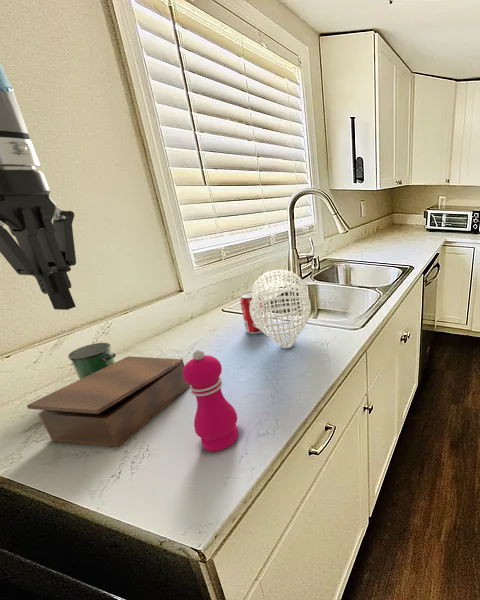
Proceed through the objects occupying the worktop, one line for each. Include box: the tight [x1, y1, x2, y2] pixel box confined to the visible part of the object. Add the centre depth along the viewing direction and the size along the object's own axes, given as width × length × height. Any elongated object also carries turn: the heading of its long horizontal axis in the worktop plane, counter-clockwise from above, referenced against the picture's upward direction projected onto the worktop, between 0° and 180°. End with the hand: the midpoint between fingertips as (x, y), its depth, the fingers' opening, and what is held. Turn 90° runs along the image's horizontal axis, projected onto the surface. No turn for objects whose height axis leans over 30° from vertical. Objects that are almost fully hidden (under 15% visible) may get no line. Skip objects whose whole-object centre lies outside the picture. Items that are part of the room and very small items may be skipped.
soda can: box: [239, 291, 268, 335], centre depth 107 cm, size 7×7×13 cm
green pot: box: [67, 342, 117, 380], centre depth 80 cm, size 10×8×10 cm
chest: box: [38, 361, 190, 448], centre depth 71 cm, size 20×15×7 cm
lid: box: [26, 356, 184, 414], centre depth 69 cm, size 21×15×1 cm
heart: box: [250, 269, 312, 349], centre depth 95 cm, size 28×16×22 cm, turn 21°
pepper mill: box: [183, 349, 239, 452], centre depth 61 cm, size 7×7×20 cm
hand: (65, 307), depth 59 cm, fingers closed
